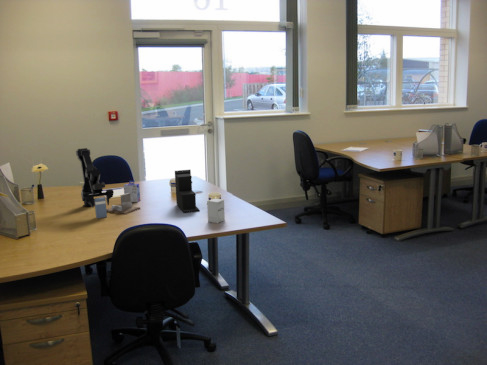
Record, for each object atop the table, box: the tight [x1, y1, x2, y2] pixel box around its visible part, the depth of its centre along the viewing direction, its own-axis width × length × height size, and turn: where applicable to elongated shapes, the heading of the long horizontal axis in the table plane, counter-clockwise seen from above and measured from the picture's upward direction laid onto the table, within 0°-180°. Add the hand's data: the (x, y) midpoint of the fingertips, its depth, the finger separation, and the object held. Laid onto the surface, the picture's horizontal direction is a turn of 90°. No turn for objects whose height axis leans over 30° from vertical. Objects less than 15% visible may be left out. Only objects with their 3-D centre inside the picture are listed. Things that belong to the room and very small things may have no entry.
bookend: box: [174, 169, 201, 214], centre depth 302 cm, size 23×11×24 cm, turn 19°
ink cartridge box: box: [123, 180, 141, 203], centre depth 325 cm, size 10×6×14 cm, turn 83°
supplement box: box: [206, 198, 226, 224], centre depth 271 cm, size 7×7×13 cm
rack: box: [106, 193, 141, 215], centre depth 303 cm, size 18×14×11 cm
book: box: [94, 196, 108, 219], centre depth 287 cm, size 3×6×12 cm, turn 120°
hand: (100, 206), depth 286 cm, fingers open, 9 cm apart
